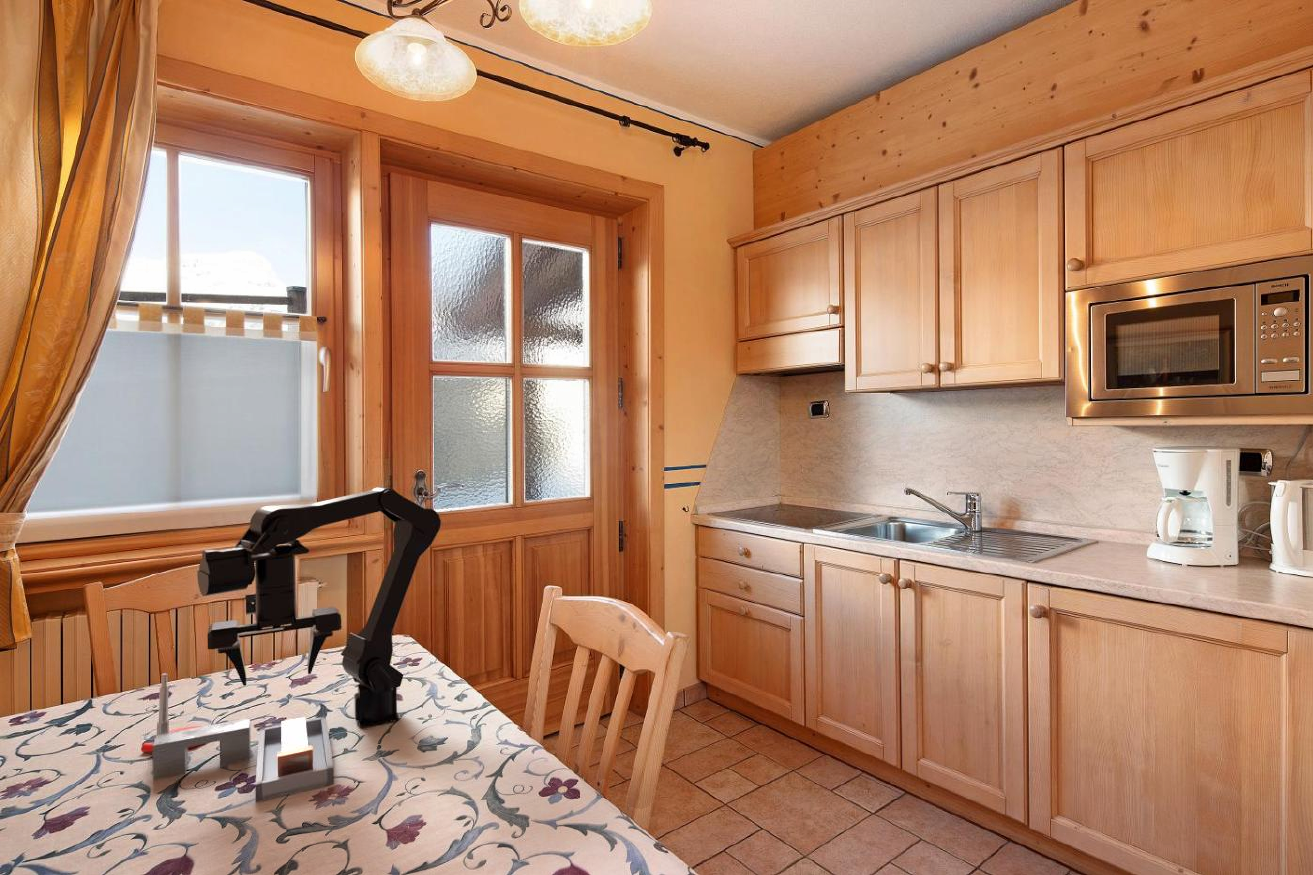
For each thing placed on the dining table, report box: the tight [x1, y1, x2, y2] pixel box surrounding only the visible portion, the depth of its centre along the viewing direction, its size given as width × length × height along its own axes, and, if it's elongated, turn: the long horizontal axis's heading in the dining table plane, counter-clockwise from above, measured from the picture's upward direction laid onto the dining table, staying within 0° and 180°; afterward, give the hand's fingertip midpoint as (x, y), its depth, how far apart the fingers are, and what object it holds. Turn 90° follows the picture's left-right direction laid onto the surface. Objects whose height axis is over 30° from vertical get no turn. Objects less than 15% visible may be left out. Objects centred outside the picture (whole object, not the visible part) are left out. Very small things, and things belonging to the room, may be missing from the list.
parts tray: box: [254, 716, 335, 803], centre depth 108 cm, size 10×20×2 cm, turn 29°
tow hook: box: [140, 672, 203, 754], centre depth 115 cm, size 8×13×9 cm
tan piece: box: [278, 716, 313, 777], centre depth 108 cm, size 15×5×4 cm, turn 29°
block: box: [152, 717, 252, 781], centre depth 107 cm, size 12×4×5 cm, turn 119°
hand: (277, 678), depth 111 cm, fingers open, 9 cm apart
